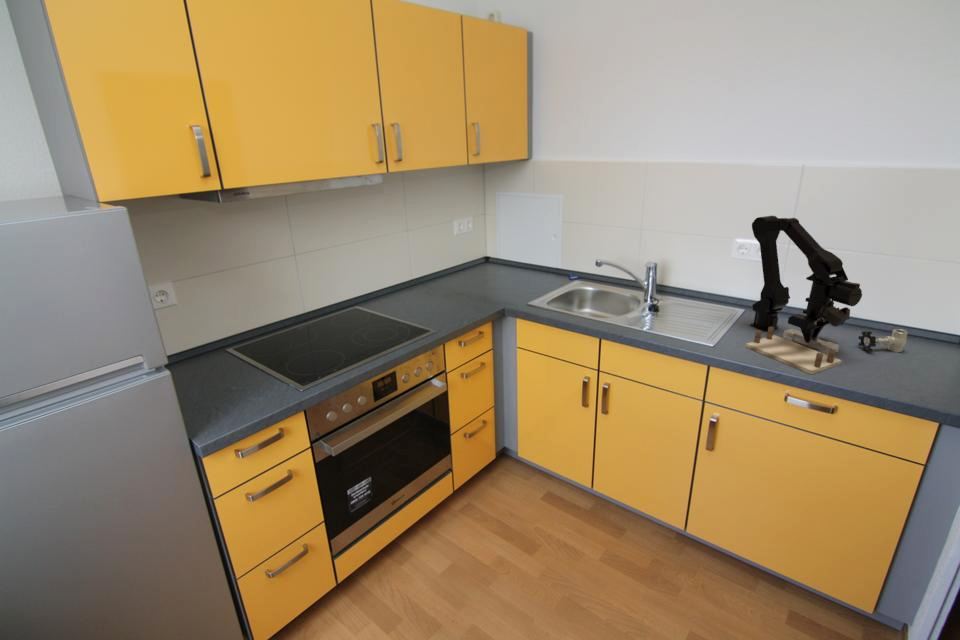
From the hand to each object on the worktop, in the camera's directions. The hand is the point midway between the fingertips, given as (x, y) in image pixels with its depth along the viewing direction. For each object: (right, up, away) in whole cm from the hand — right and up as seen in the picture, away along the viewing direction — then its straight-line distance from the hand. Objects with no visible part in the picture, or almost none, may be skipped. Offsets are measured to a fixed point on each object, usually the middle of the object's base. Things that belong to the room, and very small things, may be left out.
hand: (809, 341), depth 164 cm
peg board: (-10, -4, -6) cm, 12 cm away
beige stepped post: (0, -1, 0) cm, 1 cm away
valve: (+20, -3, -5) cm, 21 cm away
